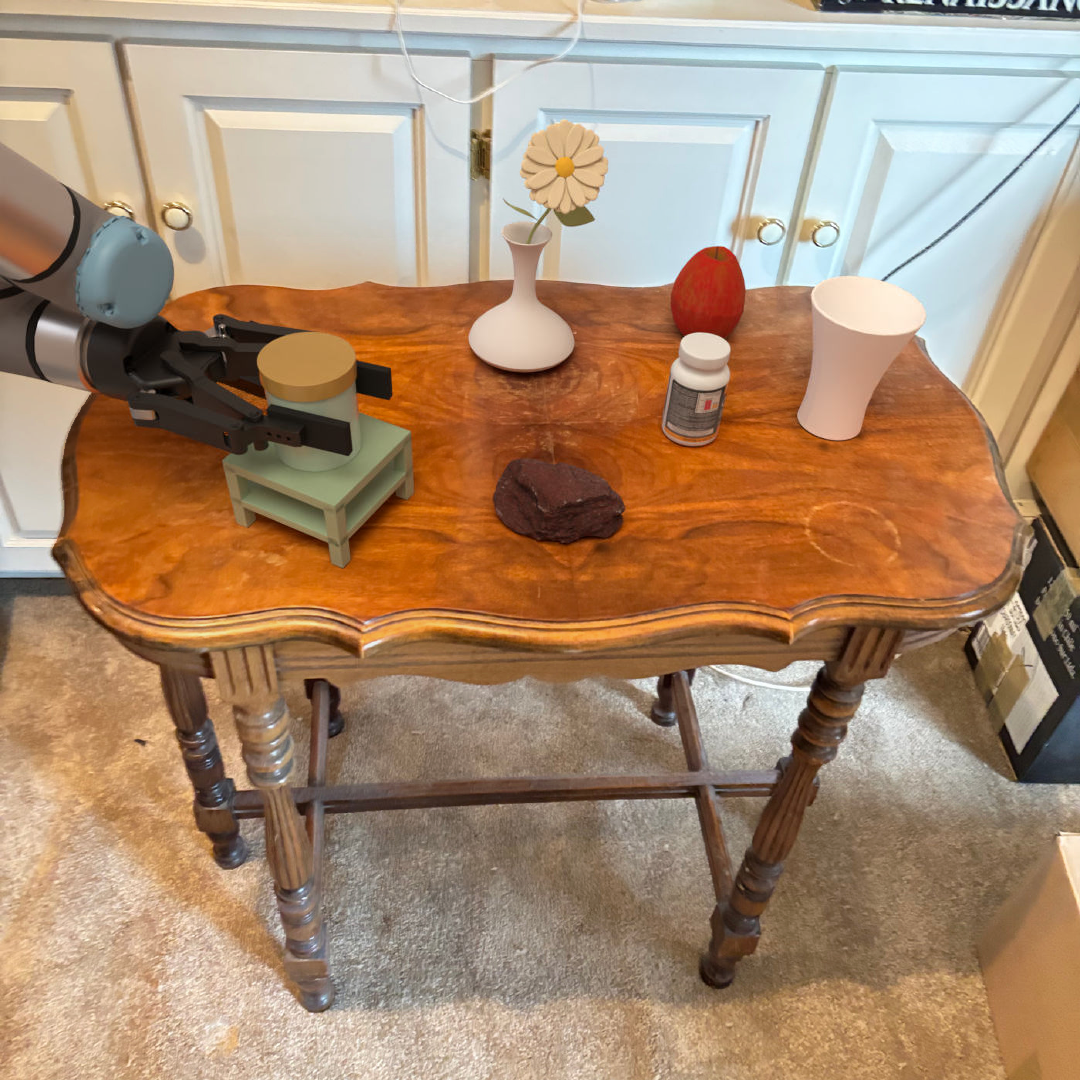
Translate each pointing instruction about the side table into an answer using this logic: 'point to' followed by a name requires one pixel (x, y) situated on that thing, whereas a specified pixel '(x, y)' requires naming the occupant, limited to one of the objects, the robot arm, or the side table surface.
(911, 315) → the cup
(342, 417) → the jar
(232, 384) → the hot plate
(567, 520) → the rock
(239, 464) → the shelf
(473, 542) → the side table surface
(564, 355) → the flower in vase
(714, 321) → the apple
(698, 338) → the pill bottle
